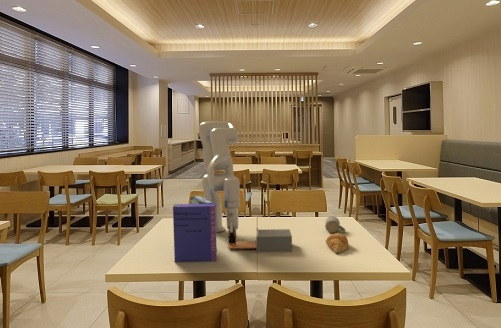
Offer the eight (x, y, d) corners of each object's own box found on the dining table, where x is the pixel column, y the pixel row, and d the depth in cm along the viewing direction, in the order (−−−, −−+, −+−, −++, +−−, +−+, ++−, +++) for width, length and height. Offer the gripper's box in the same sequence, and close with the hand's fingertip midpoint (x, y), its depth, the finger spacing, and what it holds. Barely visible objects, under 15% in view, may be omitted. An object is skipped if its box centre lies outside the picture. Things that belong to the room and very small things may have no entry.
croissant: (343, 262, 162) (352, 247, 160) (323, 251, 163) (331, 236, 162) (343, 247, 182) (351, 233, 181) (324, 236, 184) (332, 223, 182)
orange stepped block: (228, 248, 169) (227, 232, 168) (229, 242, 177) (229, 227, 177) (263, 248, 169) (263, 231, 168) (263, 242, 177) (263, 227, 177)
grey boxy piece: (256, 251, 167) (256, 235, 166) (256, 243, 179) (256, 227, 179) (291, 251, 167) (291, 234, 166) (289, 243, 179) (289, 227, 178)
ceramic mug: (324, 233, 196) (325, 219, 195) (325, 229, 204) (325, 215, 203) (345, 234, 193) (345, 220, 193) (345, 230, 201) (345, 216, 201)
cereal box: (216, 257, 160) (215, 203, 158) (216, 261, 156) (214, 205, 153) (176, 258, 160) (175, 203, 158) (174, 262, 155) (172, 206, 153)
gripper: (239, 207, 164) (239, 247, 165) (240, 200, 179) (241, 237, 181) (222, 207, 164) (223, 247, 165) (225, 200, 179) (225, 237, 181)
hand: (232, 242), depth 173 cm, fingers closed on orange stepped block
